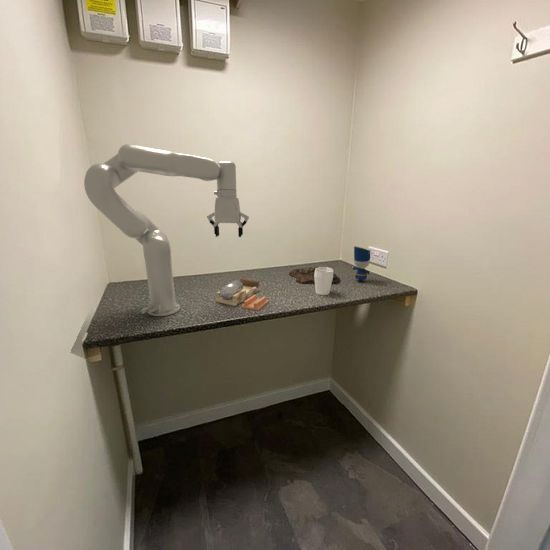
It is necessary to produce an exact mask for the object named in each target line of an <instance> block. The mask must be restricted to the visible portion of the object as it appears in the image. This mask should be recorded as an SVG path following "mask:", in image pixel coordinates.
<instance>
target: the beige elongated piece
mask: <svg viewBox="0 0 550 550" xmlns="http://www.w3.org/2000/svg"><path fill="white" fill-rule="evenodd" d="M239 281H240V282H241V283H242V284H243V290H242V291H240V292H238V293H237V294H235V295H233V296H232V298H230V299H229V300H225V299H223V298H222V297H221V295H220V290H219V291H216V300H215V301H216V303H219V304H225V305H228V306H233V307H236V306H238V305H239V304H241V303H242V302H243V303H244V301H245V300H247V299H248V298H250V297H251V296H253V295H256V294H257V293H258V292H260V282H259V280H254V279H249V278H248V279H247V278H239Z"/></svg>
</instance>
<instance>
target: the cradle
mask: <svg viewBox="0 0 550 550" xmlns="http://www.w3.org/2000/svg"><path fill="white" fill-rule="evenodd" d="M269 301H270V300H268V299H267V296H265V295H264V296H262V297H261V298H258V296H257V294H253V295H252V296H250V297H249V298H247V299H246V300H244V301H243V304H241V308H243V309H247V310H251V311H255V312H259V311H260V310H261V309H263V308H264V307H265V306H266V305H267V304H269Z"/></svg>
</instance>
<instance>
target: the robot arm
mask: <svg viewBox="0 0 550 550" xmlns="http://www.w3.org/2000/svg"><path fill="white" fill-rule="evenodd" d="M236 168H237V167H236V163H235V161H234V162H233V161H230V160H229V161H228V160H222V161H218V162H217V161H216V160H214V159H211V158H207V157H202V156H197V155H191V154H186V153H185V154H184V153H180V152H174V151H170V150H163V149H159V148H153V147H148V146H147V147H146V146H142V145H137V144H130V143H128V144H123V145H121V146H120V147H119V149H118V151H117V153H116V155H114V156H112V157H111V158H109V159H108V160H106V161H105V162H103V163H95V164H92V165H90V167H88V169H87V170H86V172H85V176H84V180H83V181H84V183H83V184H84V185H83V187H84V190H85V194H86V196H87V198H88V200H90V202H91V204H92V205H93V206H94V207H95V208H96V209H97V210H98V211H99V212H100V213H102V214H103V215H104V217H106V218H107V219H108V220H109V221H110V222H111V223H112V224H114V226H115V227H116V228H118V229H119V230H120V231H121V232H122V233H123V234H124V235H125V236H126V237H129V238H131V239H135V240H136V241H137V242H138V243H139V244H141V246H142V250H143V257H144V262H145V263H144V264H145V271H146V272H145V273H146V277H147V285H148V293H149V299H150V300H149V301H150V302H148V303H147V304H148V305H147V306H146V307H143V308H141V309H140V313H141V314H146V313H147V314H148V315H150V316H152V317H166V316H170V315H173V314H176V313H177V312H178V311H180V309H181V305H180V304H179V302H178V303H177V302H176V294H175V293H176V291H175V285H174V274H173V273H174V272H173V266H172V250H171V249H172V248H171V244H170V243H171V242H170V241H169V239H168V236H167V235H166V234H165V233H164V232H163V231H162V230H161V229H160V228H159V227H158V226H157V225H156V224H155V223H153V221H151V220H150V218H148V217H147V216H146V215H145V214H144V213H142V212H141V211H137V210H135V209H134V208H133V207H132V206H130V205H129V204H128V203H127V201H125V199H124V198H123V197H121V196H120V195H119V193H117V191H116V190H115V188H117V187H118V186H120V185H121V184H122V183H124V182H125V181H127V180H128V179H130V178H131V177H132V176H134V175H135V174H136V173H138V172H141V173H146V174H153V175H158V176H159V175H160V176H163V177H165V176H167V177H183V178H192V179H198V180H201V181H203V182H211V181H216V184H217V185H216V186H217V187H216V189H217V190H216V191H215V190H214V191H213V194H214V195H215V196H217V197H215V203H214V212H213V213H210V214H209V215H207V216H206V219H207V220H208V221H209V224H210V225H211V226H212V227H213V231H214V232H213V233H214V235H215V238H218V237H219V236H220V226H219V224H237V226H238V228H237V229H238V232H237V233H238V238H241V237H242V236H243V235H244V232H243V231H244V229H243V228H244V226H245V225H246V224H247V223H248V221H249V219H250V216H249V215H247V214H245V213H244V212H241V206H240V200H239V197H238V196H237V171H236ZM213 218H214V220H213ZM241 218H243V222H242V221H241Z"/></svg>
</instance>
